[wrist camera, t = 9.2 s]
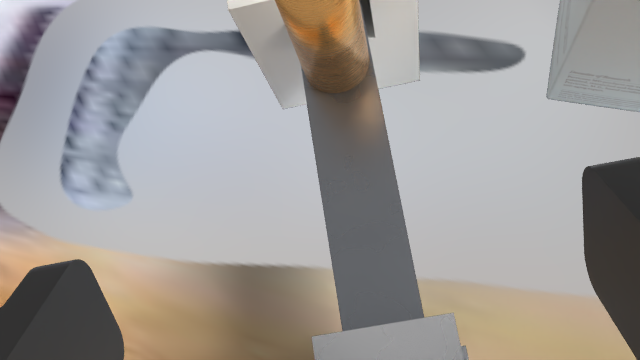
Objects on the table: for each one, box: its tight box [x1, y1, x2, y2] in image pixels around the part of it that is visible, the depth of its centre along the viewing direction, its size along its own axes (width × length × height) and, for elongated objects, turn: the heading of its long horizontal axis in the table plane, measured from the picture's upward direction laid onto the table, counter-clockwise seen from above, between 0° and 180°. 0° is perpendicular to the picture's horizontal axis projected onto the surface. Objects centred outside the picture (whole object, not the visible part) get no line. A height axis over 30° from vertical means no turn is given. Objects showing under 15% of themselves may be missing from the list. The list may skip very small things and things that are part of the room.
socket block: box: [227, 0, 420, 109], centre depth 31 cm, size 8×5×10 cm, turn 99°
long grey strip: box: [275, 0, 424, 331], centre depth 22 cm, size 3×20×11 cm, turn 9°
